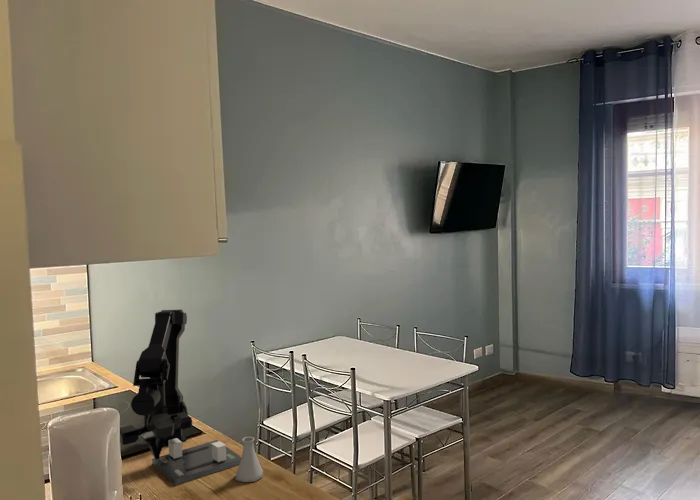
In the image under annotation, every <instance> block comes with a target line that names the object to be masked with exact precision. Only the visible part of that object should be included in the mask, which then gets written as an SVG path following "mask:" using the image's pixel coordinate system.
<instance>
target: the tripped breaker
mask: <svg viewBox="0 0 700 500" xmlns="http://www.w3.org/2000/svg"><path fill="white" fill-rule="evenodd" d="M168 445H169V446H168V454H169V455H170V456H171V457H173V458H174V459H175V458H178V457H181V456H182V450H183V442H181V441H180V440H179V439H177V438H175V439H171V440H168Z"/></svg>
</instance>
